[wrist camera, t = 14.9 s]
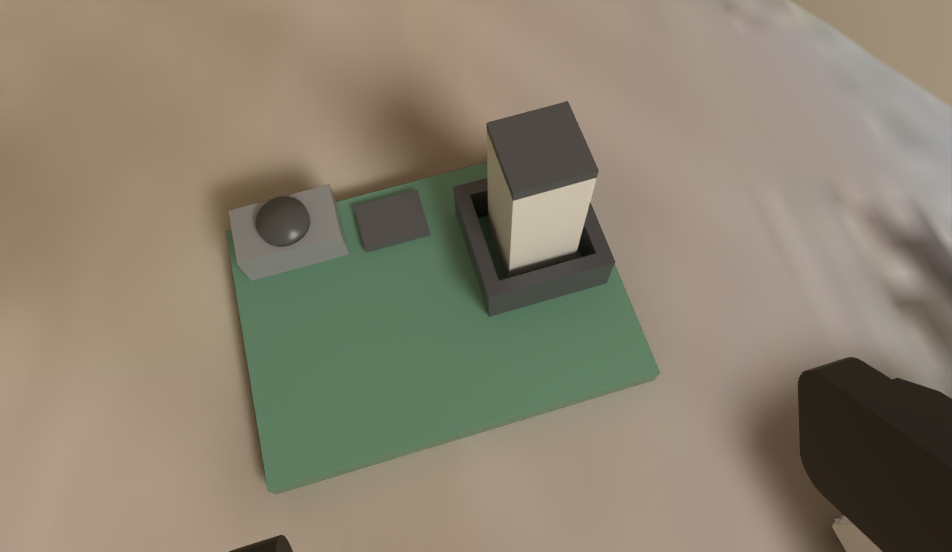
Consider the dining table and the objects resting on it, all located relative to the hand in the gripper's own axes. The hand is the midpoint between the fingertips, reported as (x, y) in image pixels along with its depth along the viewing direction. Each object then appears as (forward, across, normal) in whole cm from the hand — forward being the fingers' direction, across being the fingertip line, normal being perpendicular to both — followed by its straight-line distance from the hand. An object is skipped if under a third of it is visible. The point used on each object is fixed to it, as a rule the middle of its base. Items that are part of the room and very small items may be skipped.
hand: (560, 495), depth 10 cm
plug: (+29, -6, +7) cm, 30 cm away
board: (+29, 0, +10) cm, 31 cm away
